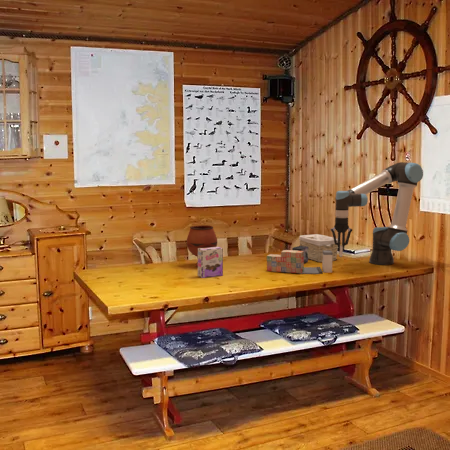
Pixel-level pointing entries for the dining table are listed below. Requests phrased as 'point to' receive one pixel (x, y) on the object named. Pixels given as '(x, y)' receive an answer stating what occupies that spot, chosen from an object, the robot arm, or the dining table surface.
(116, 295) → the dining table surface
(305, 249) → the small box
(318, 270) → the pad
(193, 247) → the terracotta clay vase
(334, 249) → the storage basket
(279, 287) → the dining table surface
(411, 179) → the robot arm
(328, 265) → the tall block
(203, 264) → the candy box
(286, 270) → the stack of blocks
